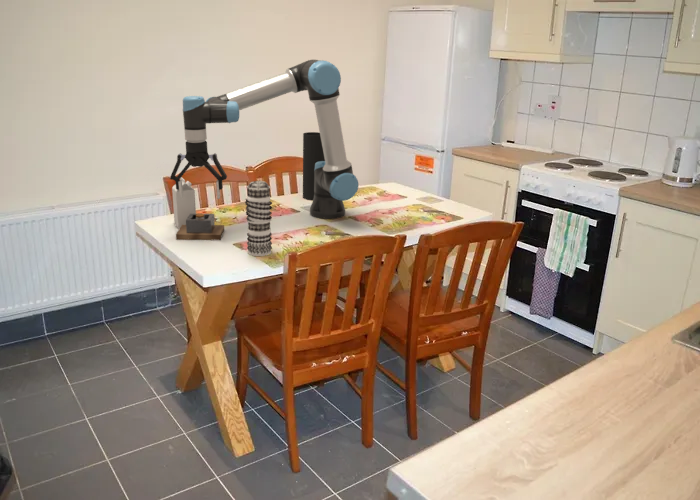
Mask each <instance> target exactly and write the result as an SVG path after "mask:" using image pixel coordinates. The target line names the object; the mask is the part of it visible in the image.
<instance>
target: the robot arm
mask: <svg viewBox="0 0 700 500" xmlns="http://www.w3.org/2000/svg"><path fill="white" fill-rule="evenodd" d="M341 81H342V77H341V72H340V70H339V68H338V67H336V65H335V64H334V63H331V62H330V61H327V60H323V59H322V60H318V59H308V60H305V61H303V62H301V63H298V64H296V65H294V66H291V67H288V68H287V69H286V70H285V72H283V73H280V74H278V75H274V76H272V77H271V76H270V77H269V78H266V79H263V80H260V81H257V82H255V83H252V84H248V85H246V86H244V87H240V88H237V89H235V90H232V91H229V92H226V93H224V94H221V95H218V96H211V97H208V98H207V99H206V100H205V97H204V96H201V95H199V96H198V95H189V96H184V97H183V99H182V117H183V127H184V128H183V129H184V139H185V152H186V153H185V154H183V153H178V154H177V157H176V162H175V165H174V167H173V170H172V172H171V175H170V176H169V180H171V181H175V184H176V189H177V190H179V195H180V199H182V198H183V188H182V180H180V178H181V177H182V178H183V175H184V174H185V173H186V172H187V170H189V168H190V166H192V167H193V168H195V167H196V168H197V167H199V168H202V167H204V168H205V169H207V170H208V171H209V172H210V173H211V174H212V175H213V176H214V178H215V179H216V184H215V185H216V199H218V200H219V199H221V190H223V185H224V184H223V181H225V180H226V179H227V177H228V175H227V173H226V172H225V170H224V168H223V166H222V165H221V163H220V162H219V159H218V154H217V153H216V152H215V153H212V154H209V152H208V142H207V126H206V125H207V124H226V123H227V124H231V123H237V122H239V120H240V111H241V110H244V109H247V108H249V107H253V106H255V105H256V106H257V105H258V104H261V103H265V102H266V101H269V100H273V99H276V98H279V97H280V96H284V95H286V94H289V93H291V92H292V93H294V94H297V93H300V92H303V91H307V93H308V98H309V101H310V102H311V103H313V104H314V110H315V114H316V119H317V124H318V130H319V133H320V137H321V142H322V147H323V153H324V158H325V161H319V162H316V163H315V169H314V171H315V177H314V199H313V200H312V202H311V205H310V208H309V215H310V216H311V217H314V218H318V219H325V220H327V219H328V220H329V219H330V220H331V219H339V218H343V217H345V215H346V207H345V205H344V201H345V202H346V201H348V200H350V199H351V198H353V197H354V196H355V194H356V193H357V192H358V189H359V185H360V184H359V180H358V178H357V176H356V175H355V174H354V172H353V166H352V162H350V161H349V160H348V158H347V153H346V148H345V142H344V136H343V130H342V123H341V120H340V113H339V106H338V102H337V101H338V98H339V97H340V95H341V94H340V89H339V87H340V86H341ZM184 159H185V160H186V161H187V163H186V165H185V166H184V168H183V169H182V170H181V171H180V172H179V173H178V175H177V172H178V171H179V168H180V166H181V163H182V161H184ZM209 159H210V160H211V161H213V163H214V165H215V167H216V169H217V170H218V171H217V170H216V169H215V168H214V167H213V166H212V165H211V164H210V162H209V161H208V160H209ZM176 175H177V176H176Z"/></svg>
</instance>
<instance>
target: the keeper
mask: <svg viewBox="0 0 700 500" xmlns="http://www.w3.org/2000/svg"><path fill="white" fill-rule="evenodd" d="M204 214H205V213H202V212H200V213H196V219H204ZM224 232H225V225H223V224H219V225H218V224H215V227H214V229H213V231H212V233H187V231H186V225H182V226H181V227H180V229H178V231H177V232H176V234H175V239H176V240H177V241H178V240H180V241H181V240H183V241H184V240H185V241H221V239H222V237H223V234H224Z"/></svg>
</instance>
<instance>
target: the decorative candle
mask: <svg viewBox="0 0 700 500" xmlns="http://www.w3.org/2000/svg"><path fill="white" fill-rule="evenodd" d="M271 188H272V187H271V185H269V184H268V183H267V182H266V181H263V180H255V181H254V180H253V181H251V182H249V184H248V185H246V189H247V196H246V198H245V202H244V203H245V206H246V207H245V211H246V212H245V215H246V216H247V217H246V219H245V220H246V222H247V224H248V225H247V226H248V227H247V233H246V236H247V238H246V239H247V242H246V245H247V246H246V248H247V254H248V255H249V256H254V257H266V256H268V254H269V255H271V254H272V253H273V251H272V249H273V246H272V244H273V243H272V240H273V238H272V236H273V234H272V232H271V231H272V230H271V221H272V219H273V216H271V215H272V214H273V212H271V210H272V209H273V206H272V204H273V202H272V201H271V192H270V191H271V190H270V189H271ZM271 252H272V253H271ZM265 255H266V256H265Z"/></svg>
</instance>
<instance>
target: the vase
mask: <svg viewBox="0 0 700 500" xmlns="http://www.w3.org/2000/svg"><path fill="white" fill-rule="evenodd" d="M319 161H325V158H324V153H323V147H322V142H321V137H320V131H319V132H314V131H313V132H311V131H310V132H304V133H302V199H304V200H307V201H308V200H309V201H313V199H314V177H315V171H314V169H315V163H316V162H319Z"/></svg>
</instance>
